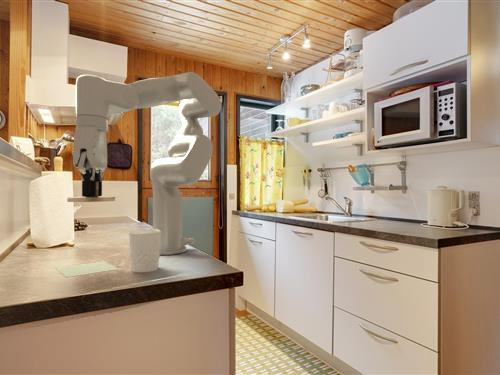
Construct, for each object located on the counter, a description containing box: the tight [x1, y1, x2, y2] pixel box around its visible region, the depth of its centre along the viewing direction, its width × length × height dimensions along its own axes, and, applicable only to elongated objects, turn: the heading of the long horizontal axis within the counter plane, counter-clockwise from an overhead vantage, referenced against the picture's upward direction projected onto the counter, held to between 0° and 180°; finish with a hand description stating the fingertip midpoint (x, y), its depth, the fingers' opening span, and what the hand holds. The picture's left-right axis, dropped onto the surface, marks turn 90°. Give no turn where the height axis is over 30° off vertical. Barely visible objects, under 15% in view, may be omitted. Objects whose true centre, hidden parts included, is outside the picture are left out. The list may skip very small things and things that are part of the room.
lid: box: [67, 182, 116, 203], centre depth 81 cm, size 11×11×5 cm
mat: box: [55, 260, 119, 278], centre depth 80 cm, size 12×12×1 cm
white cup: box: [128, 229, 161, 273], centre depth 80 cm, size 8×8×10 cm
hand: (92, 195), depth 81 cm, fingers closed on lid, 3 cm apart
